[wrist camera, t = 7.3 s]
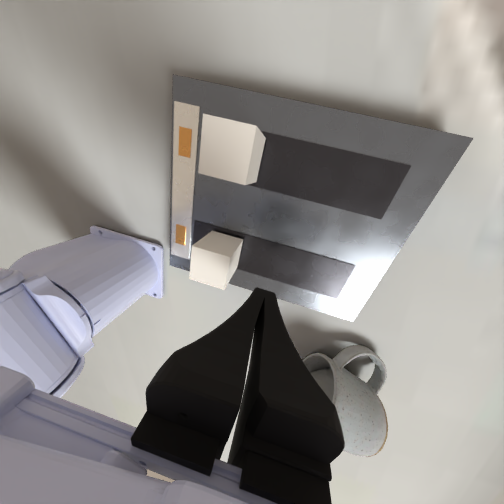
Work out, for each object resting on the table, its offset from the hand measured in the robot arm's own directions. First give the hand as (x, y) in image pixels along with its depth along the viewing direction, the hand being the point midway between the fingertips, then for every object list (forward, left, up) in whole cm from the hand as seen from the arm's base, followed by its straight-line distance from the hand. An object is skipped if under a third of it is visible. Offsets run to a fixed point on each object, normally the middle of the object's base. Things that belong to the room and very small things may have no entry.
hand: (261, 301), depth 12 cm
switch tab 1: (-4, +8, -6) cm, 11 cm away
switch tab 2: (-4, 0, -6) cm, 7 cm away
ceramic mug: (+12, -13, -8) cm, 20 cm away
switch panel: (0, +4, -8) cm, 9 cm away
